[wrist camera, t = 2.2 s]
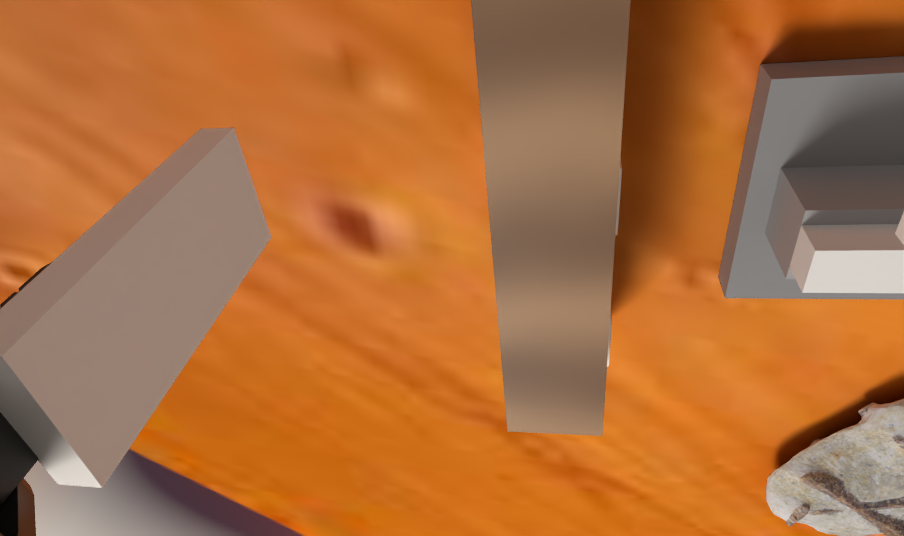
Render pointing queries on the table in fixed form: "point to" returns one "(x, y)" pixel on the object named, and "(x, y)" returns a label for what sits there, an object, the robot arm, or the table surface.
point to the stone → (847, 478)
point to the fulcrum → (820, 184)
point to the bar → (552, 198)
